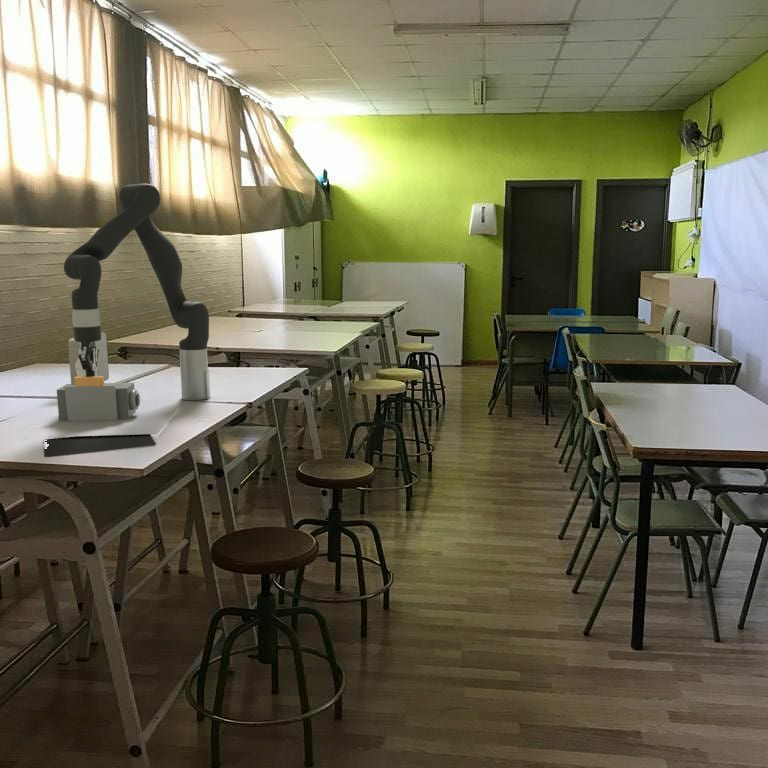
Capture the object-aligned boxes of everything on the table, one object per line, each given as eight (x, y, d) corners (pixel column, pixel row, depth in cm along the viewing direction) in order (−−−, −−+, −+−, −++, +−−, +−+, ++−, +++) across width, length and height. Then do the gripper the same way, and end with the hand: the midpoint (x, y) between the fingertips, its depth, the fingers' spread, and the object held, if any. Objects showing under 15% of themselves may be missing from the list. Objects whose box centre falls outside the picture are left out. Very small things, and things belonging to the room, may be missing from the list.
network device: (88, 395, 266) (84, 339, 263) (64, 395, 267) (60, 339, 263) (115, 383, 292) (111, 332, 288) (92, 383, 292) (89, 332, 288)
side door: (118, 418, 224) (114, 376, 221) (117, 420, 223) (113, 377, 220) (69, 420, 223) (64, 377, 219) (68, 421, 222) (63, 378, 218)
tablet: (147, 428, 214) (157, 444, 196) (147, 431, 214) (157, 447, 196) (43, 439, 203) (44, 457, 185) (43, 441, 203) (44, 460, 185)
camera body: (142, 414, 235) (141, 382, 233) (136, 421, 225) (134, 388, 224) (69, 416, 233) (66, 384, 231) (59, 423, 223) (56, 389, 221)
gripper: (94, 326, 213) (98, 386, 216) (105, 322, 226) (109, 378, 229) (66, 327, 212) (71, 387, 216) (79, 322, 225) (84, 379, 229)
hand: (91, 382), depth 222 cm, fingers closed
